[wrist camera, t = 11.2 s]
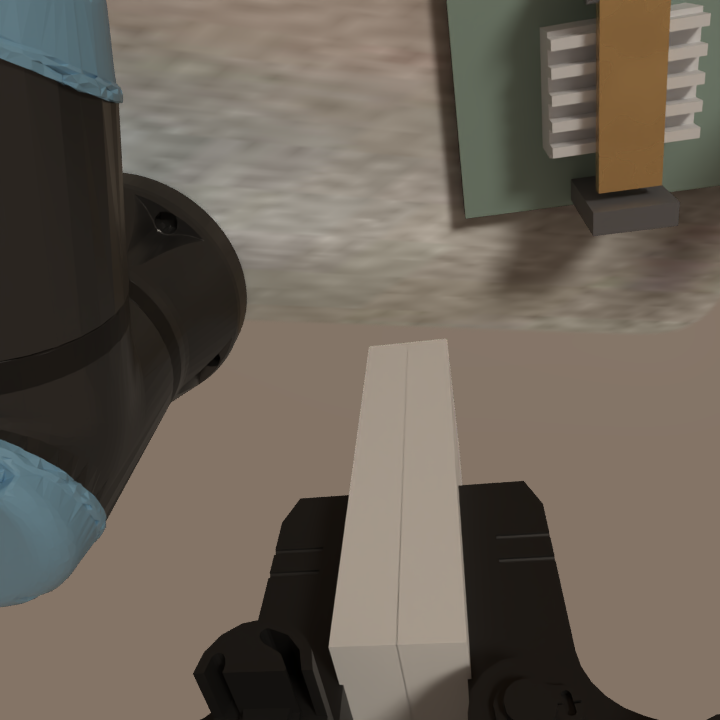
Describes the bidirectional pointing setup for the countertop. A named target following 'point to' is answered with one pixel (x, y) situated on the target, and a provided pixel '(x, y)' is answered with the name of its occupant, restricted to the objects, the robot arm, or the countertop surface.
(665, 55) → the strap
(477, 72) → the clamp base
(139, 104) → the countertop surface
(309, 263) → the countertop surface
